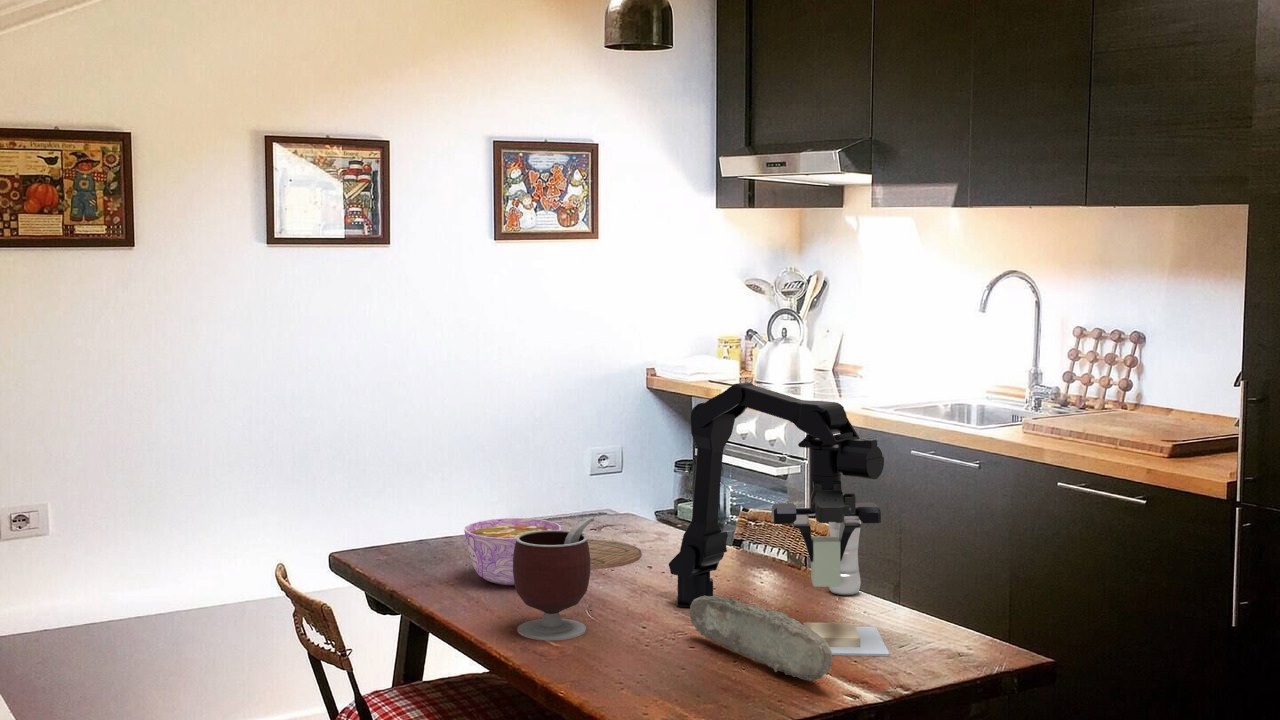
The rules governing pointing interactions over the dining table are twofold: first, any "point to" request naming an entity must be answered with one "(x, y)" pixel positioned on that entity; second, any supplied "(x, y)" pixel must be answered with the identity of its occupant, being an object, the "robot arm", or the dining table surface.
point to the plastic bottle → (847, 563)
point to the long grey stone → (762, 636)
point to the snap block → (825, 561)
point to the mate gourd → (552, 579)
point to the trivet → (611, 554)
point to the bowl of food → (499, 545)
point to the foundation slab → (837, 633)
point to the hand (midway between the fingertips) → (825, 561)
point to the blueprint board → (864, 644)
